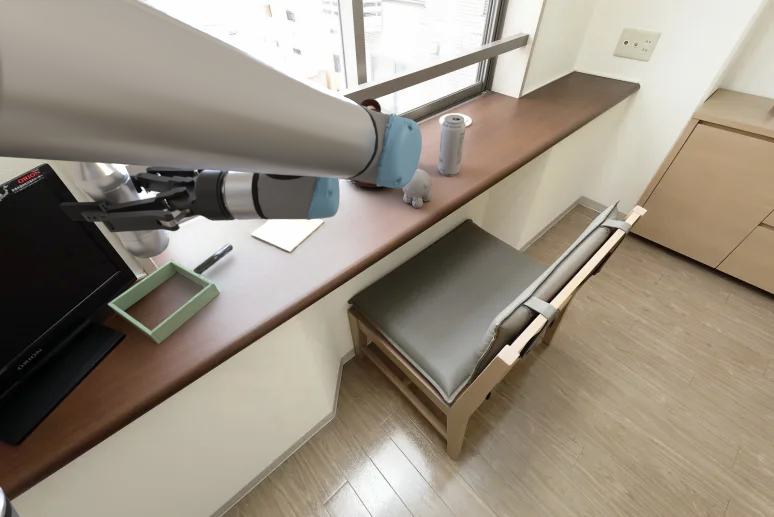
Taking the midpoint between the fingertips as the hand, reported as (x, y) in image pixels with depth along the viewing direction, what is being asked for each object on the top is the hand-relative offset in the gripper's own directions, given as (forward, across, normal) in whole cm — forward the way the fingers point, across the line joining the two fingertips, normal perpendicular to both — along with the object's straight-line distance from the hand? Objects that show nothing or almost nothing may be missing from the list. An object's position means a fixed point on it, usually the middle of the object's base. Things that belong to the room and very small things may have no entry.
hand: (83, 197), depth 51 cm
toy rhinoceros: (-50, +31, -23) cm, 64 cm away
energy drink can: (-62, +43, -23) cm, 79 cm away
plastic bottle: (-5, 0, -11) cm, 12 cm away
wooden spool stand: (-41, +41, -23) cm, 63 cm away
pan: (-6, +2, -23) cm, 24 cm away
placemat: (-21, +19, -23) cm, 37 cm away
